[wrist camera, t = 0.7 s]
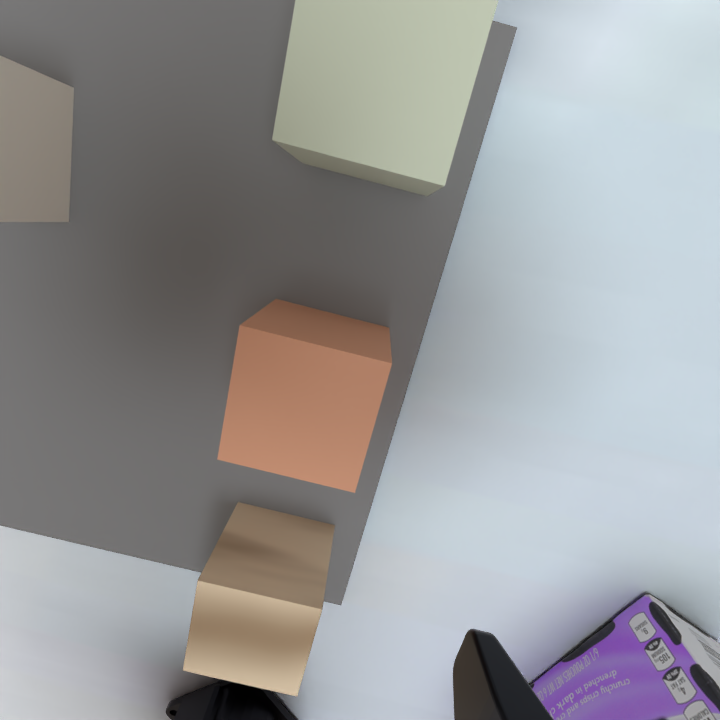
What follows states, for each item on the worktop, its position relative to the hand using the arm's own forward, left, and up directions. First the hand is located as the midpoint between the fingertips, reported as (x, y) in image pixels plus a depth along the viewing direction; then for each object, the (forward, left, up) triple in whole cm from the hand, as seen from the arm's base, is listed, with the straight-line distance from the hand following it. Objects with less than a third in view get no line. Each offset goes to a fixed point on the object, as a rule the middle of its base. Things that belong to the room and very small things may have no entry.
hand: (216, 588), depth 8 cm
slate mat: (+5, +4, -13) cm, 14 cm away
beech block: (-8, +7, -12) cm, 16 cm away
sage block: (+7, -7, -12) cm, 16 cm away
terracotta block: (0, 0, -12) cm, 12 cm away
